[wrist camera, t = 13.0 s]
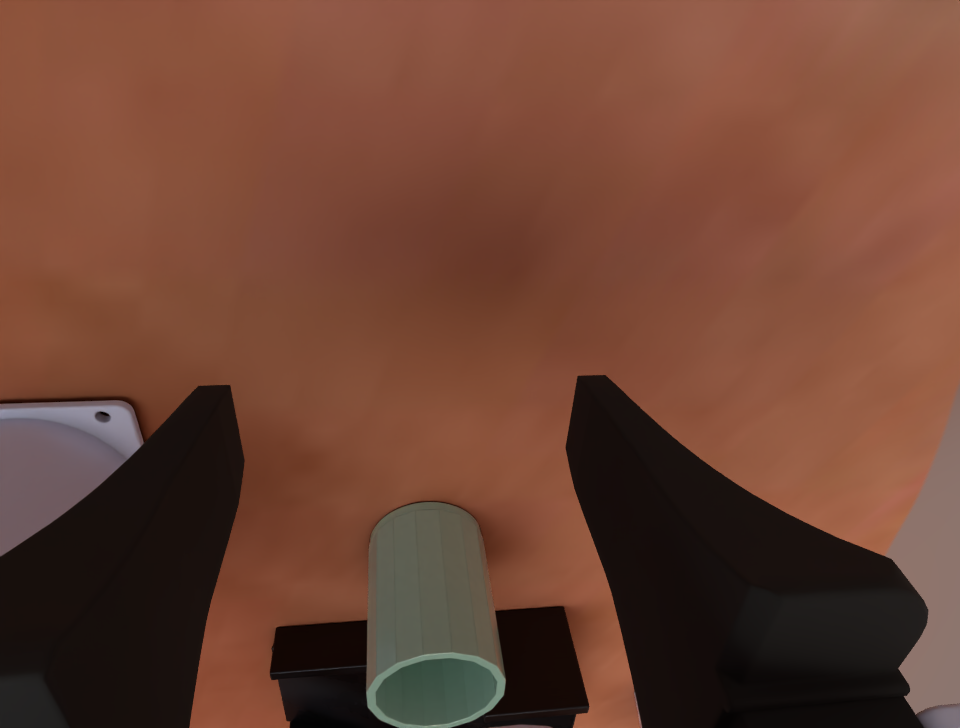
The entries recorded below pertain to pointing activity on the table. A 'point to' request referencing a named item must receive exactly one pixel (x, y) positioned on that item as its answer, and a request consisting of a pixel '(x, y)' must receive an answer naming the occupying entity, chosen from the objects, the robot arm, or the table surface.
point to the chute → (362, 705)
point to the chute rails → (524, 645)
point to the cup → (431, 620)
